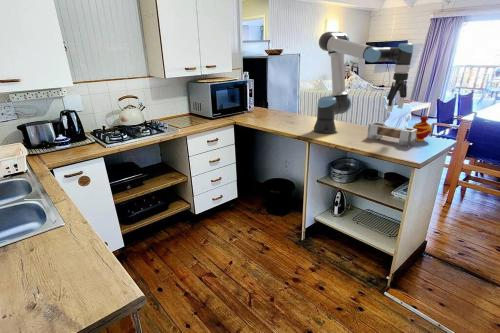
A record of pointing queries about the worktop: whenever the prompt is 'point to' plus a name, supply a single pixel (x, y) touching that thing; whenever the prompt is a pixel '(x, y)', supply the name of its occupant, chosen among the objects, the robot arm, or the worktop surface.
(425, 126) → the potion bottle
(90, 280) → the worktop surface
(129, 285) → the worktop surface
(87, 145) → the worktop surface
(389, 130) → the rail
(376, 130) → the bracket
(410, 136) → the bracket
